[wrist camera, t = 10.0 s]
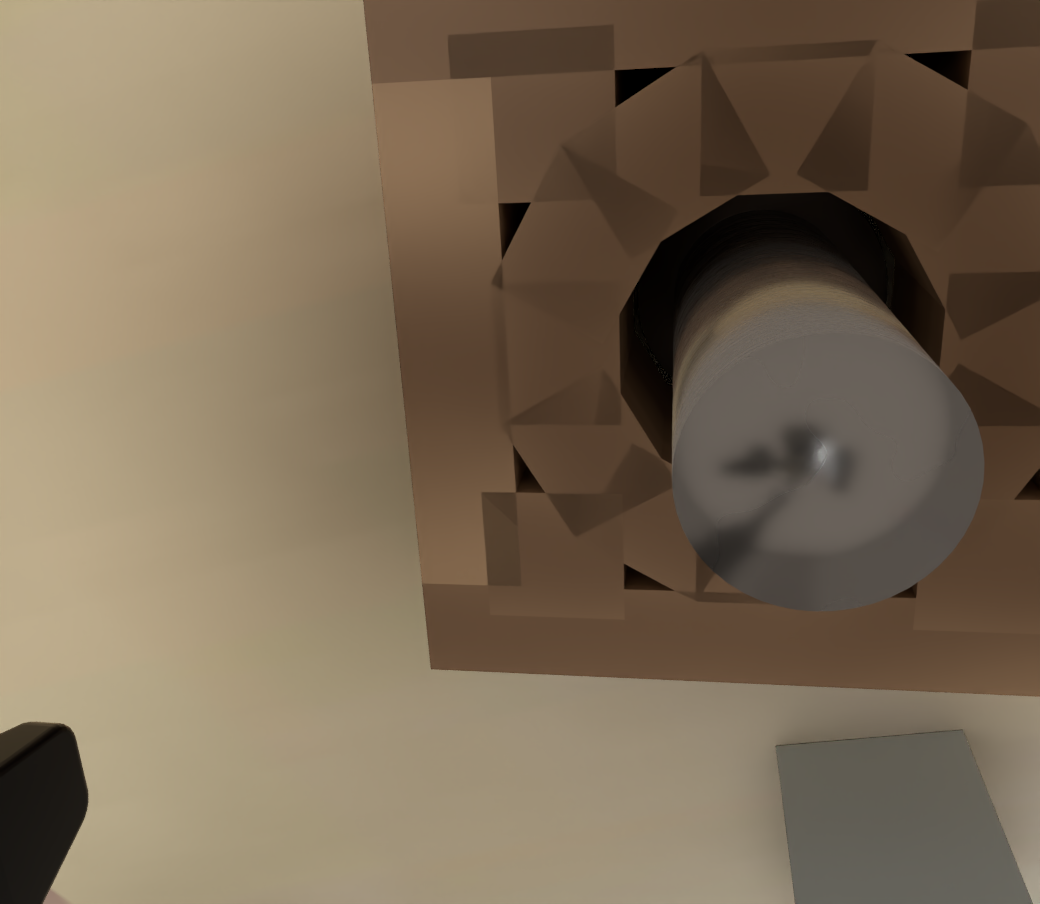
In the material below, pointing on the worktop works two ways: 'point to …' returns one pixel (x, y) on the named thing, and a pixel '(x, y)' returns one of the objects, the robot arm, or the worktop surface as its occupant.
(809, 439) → the cylinder
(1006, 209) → the bore block
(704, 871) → the worktop surface
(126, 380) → the worktop surface
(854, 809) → the gray rectangular block
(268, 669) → the worktop surface
